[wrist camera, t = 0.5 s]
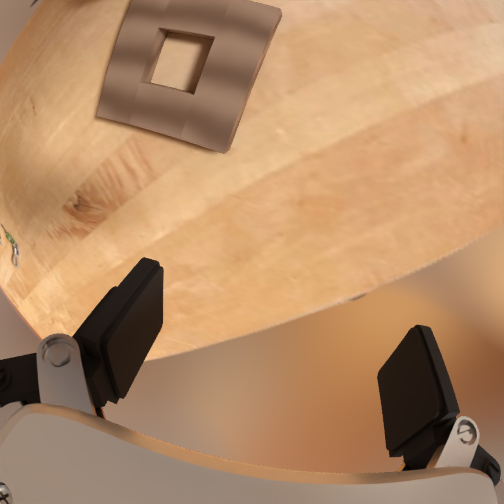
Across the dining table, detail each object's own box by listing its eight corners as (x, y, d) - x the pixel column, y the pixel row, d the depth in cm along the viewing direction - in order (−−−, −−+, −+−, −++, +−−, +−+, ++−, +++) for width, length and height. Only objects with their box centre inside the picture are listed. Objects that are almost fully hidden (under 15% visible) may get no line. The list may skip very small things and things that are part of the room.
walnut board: (147, -6, 25) (137, -12, 23) (282, 15, 26) (280, 8, 24) (108, 114, 35) (96, 116, 33) (229, 150, 36) (224, 153, 34)
